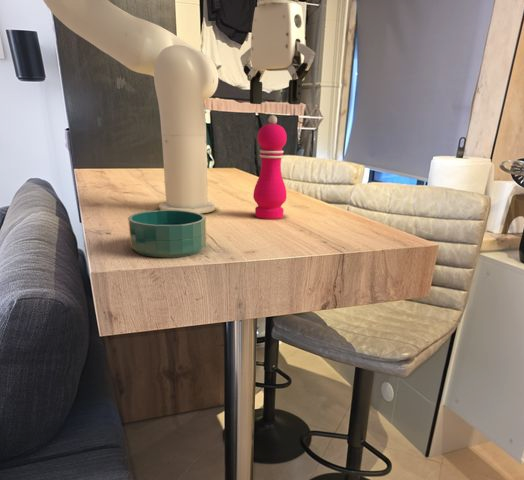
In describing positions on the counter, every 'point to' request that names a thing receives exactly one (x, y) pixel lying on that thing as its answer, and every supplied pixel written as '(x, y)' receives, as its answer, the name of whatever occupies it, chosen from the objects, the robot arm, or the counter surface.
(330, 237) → the counter surface
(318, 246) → the counter surface
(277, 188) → the pepper mill
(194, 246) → the bowl
